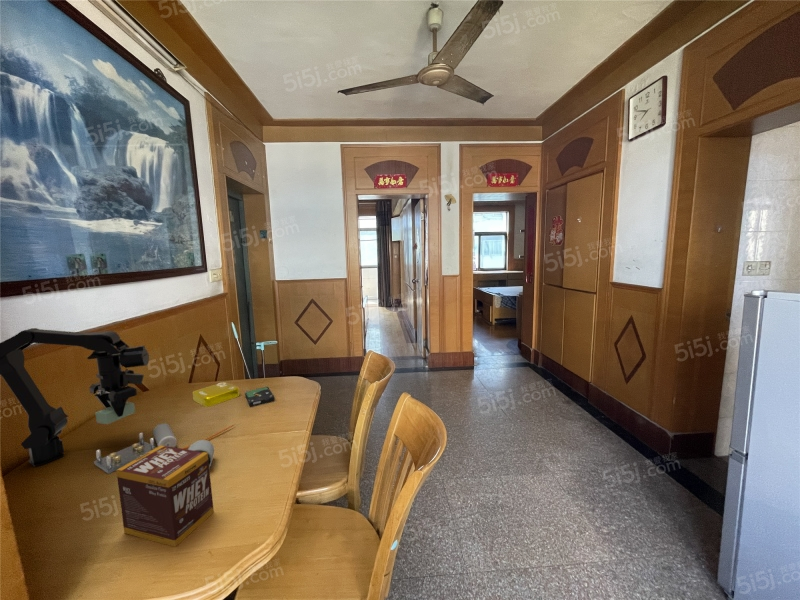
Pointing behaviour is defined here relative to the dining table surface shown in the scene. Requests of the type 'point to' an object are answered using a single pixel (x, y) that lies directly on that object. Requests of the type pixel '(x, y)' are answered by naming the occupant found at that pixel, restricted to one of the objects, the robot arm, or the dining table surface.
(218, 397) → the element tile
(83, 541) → the dining table surface
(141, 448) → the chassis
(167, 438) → the motor
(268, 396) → the disk drive
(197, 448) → the ceramic mug
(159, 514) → the supplement box
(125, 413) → the green rectangular block
